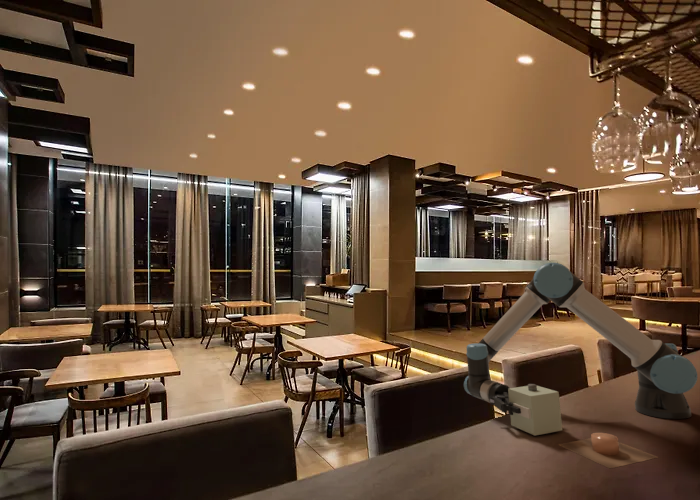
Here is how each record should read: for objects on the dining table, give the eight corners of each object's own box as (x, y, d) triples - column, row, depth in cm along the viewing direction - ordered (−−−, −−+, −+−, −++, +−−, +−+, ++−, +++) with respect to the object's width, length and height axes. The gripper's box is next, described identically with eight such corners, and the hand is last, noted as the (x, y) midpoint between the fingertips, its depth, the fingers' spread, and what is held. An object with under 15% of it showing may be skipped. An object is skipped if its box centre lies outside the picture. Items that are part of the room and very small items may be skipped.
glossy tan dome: (609, 445, 110) (607, 432, 110) (625, 454, 104) (623, 440, 104) (587, 446, 109) (586, 433, 110) (602, 456, 103) (600, 441, 104)
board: (602, 440, 116) (602, 435, 116) (659, 462, 101) (659, 457, 101) (557, 449, 112) (557, 444, 112) (610, 473, 96) (609, 468, 97)
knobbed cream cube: (537, 420, 129) (533, 379, 130) (562, 430, 120) (558, 386, 121) (511, 425, 126) (507, 383, 128) (534, 435, 117) (530, 390, 118)
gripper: (524, 400, 144) (576, 418, 123) (469, 409, 137) (513, 430, 116) (522, 378, 144) (573, 393, 123) (467, 386, 138) (511, 403, 117)
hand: (544, 411), depth 120 cm, fingers closed on knobbed cream cube, 10 cm apart
